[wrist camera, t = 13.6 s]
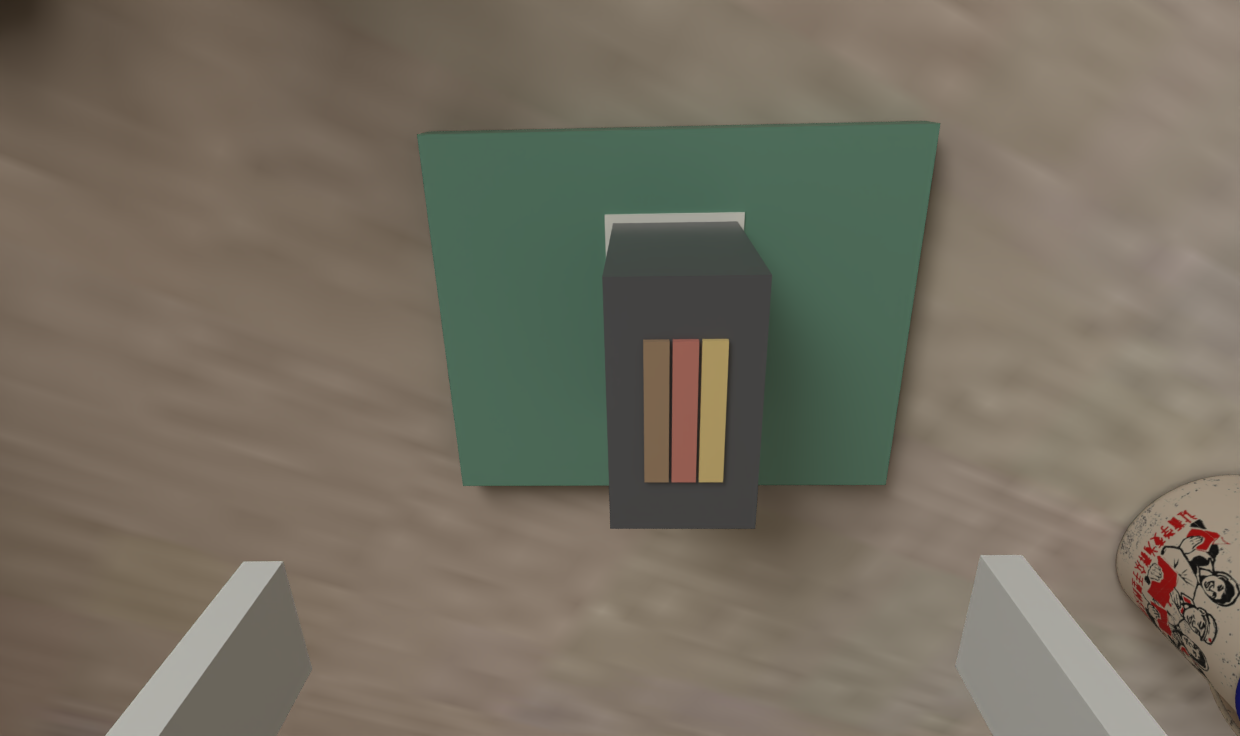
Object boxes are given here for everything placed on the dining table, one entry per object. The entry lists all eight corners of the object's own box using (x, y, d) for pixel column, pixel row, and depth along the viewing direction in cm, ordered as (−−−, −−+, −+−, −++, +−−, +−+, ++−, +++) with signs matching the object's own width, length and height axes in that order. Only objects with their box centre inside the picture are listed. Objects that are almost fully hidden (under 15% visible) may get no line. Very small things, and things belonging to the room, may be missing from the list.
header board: (470, 469, 34) (446, 523, 30) (428, 131, 28) (391, 141, 24) (875, 467, 34) (908, 523, 29) (925, 121, 27) (975, 129, 23)
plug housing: (618, 421, 31) (609, 532, 24) (613, 223, 28) (601, 278, 20) (728, 421, 31) (755, 532, 24) (737, 221, 28) (773, 276, 20)
